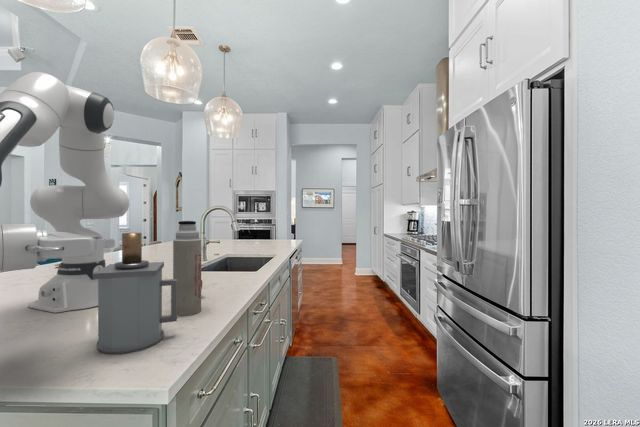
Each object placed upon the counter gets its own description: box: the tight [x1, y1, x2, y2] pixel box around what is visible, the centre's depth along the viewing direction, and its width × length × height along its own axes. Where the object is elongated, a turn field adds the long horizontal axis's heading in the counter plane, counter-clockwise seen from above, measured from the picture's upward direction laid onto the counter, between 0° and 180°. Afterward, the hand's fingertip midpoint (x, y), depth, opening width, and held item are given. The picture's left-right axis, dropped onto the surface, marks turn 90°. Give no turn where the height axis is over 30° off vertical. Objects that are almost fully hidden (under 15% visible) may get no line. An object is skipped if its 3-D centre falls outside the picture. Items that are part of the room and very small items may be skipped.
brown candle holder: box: [113, 232, 150, 269], centre depth 74 cm, size 10×10×19 cm
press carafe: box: [93, 261, 178, 355], centre depth 75 cm, size 17×14×18 cm
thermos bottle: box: [172, 220, 202, 317], centre depth 96 cm, size 8×8×28 cm
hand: (106, 241), depth 70 cm, fingers open, 8 cm apart
